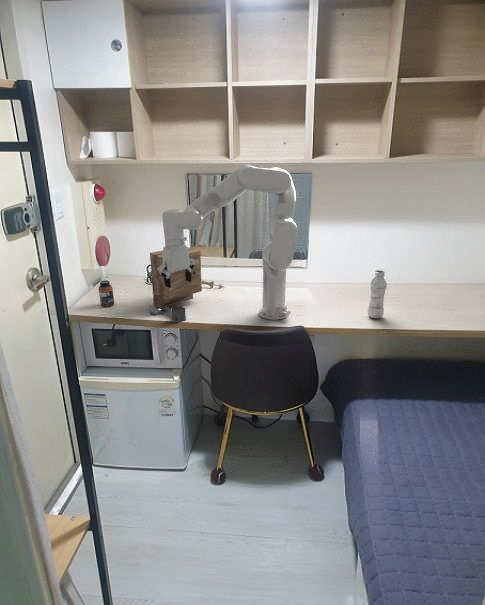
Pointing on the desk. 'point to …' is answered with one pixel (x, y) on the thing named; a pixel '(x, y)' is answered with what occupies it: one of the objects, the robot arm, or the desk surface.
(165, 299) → the cabinet
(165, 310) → the grey hammer
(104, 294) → the supplement bottle
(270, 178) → the robot arm
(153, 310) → the token
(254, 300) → the desk surface
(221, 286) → the decorative key
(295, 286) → the desk surface
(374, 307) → the plastic bottle
